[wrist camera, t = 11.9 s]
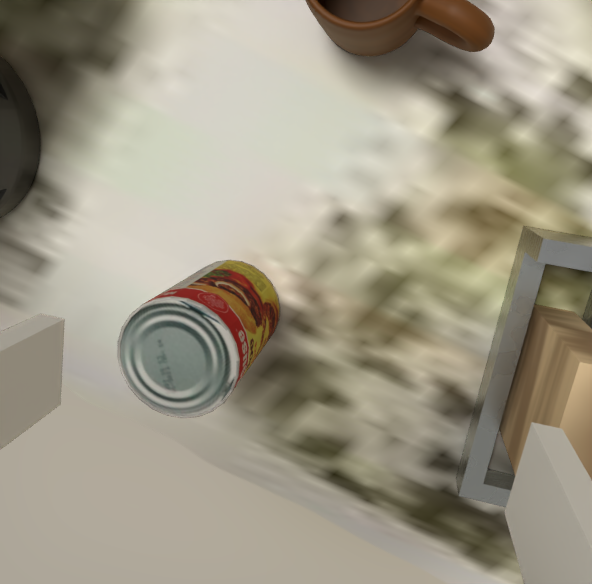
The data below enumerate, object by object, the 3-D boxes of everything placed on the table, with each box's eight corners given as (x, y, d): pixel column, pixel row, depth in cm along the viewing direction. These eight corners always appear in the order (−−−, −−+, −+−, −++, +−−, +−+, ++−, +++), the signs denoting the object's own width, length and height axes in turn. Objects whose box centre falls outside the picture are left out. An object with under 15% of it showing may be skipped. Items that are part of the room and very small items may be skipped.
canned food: (240, 371, 47) (188, 442, 36) (168, 309, 47) (94, 361, 36) (299, 304, 45) (264, 357, 33) (224, 239, 45) (163, 270, 33)
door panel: (497, 423, 44) (530, 519, 33) (531, 303, 42) (579, 362, 30) (536, 432, 44) (583, 532, 33) (573, 311, 41) (639, 374, 30)
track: (455, 478, 46) (463, 525, 40) (523, 225, 40) (543, 238, 35) (546, 500, 45) (567, 551, 39) (629, 244, 39) (667, 260, 34)
